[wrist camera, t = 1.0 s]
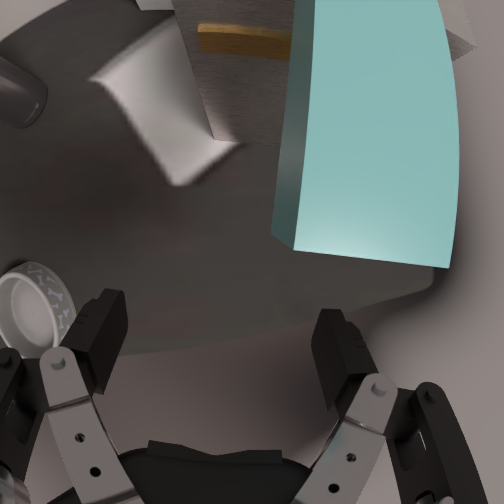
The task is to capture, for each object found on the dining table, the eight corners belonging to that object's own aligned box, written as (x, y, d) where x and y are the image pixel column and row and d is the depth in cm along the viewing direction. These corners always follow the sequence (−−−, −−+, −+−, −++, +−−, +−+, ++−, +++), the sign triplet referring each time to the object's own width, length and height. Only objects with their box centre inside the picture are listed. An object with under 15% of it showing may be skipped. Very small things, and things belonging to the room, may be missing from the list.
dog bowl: (-6, 287, 40) (-23, 294, 34) (48, 244, 39) (29, 248, 34) (35, 365, 42) (20, 378, 37) (95, 337, 42) (81, 351, 37)
